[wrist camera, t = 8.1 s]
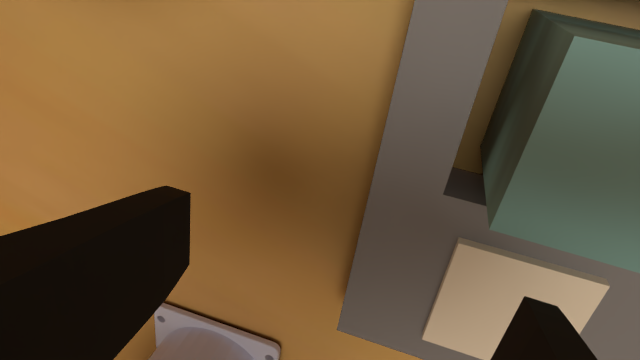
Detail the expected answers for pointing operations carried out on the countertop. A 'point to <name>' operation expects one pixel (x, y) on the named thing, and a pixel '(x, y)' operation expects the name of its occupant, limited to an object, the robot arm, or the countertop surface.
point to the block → (569, 141)
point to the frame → (461, 221)
